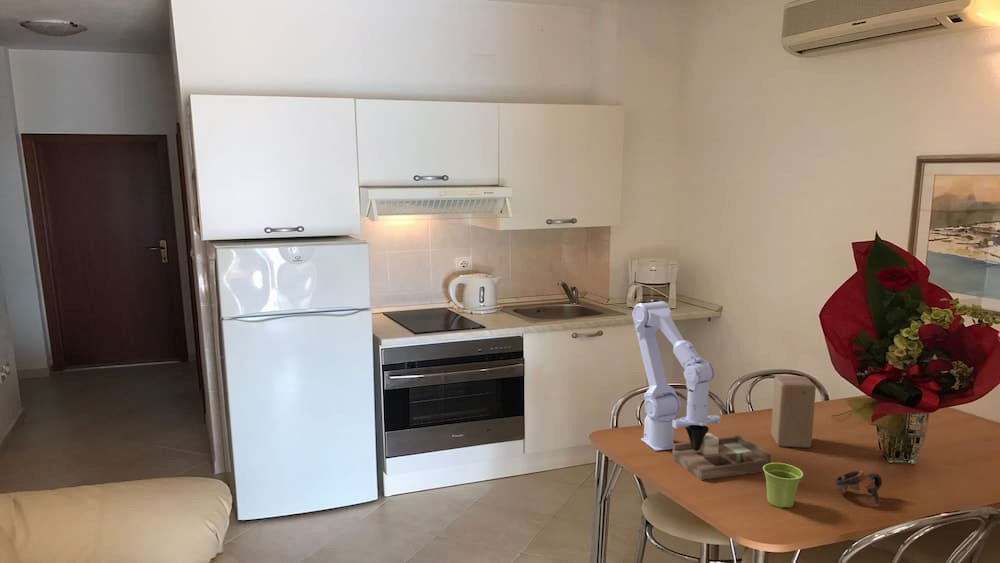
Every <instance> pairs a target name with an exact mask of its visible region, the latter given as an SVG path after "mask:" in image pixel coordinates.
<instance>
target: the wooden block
mask: <svg viewBox="0 0 1000 563" xmlns="http://www.w3.org/2000/svg"><path fill="white" fill-rule="evenodd" d="M773 382H774V383H773V397H772V410H771V411H772V412H771V428H770V434H771V437H772V438H773V440H774V441H775V444H776V445H777V446H778V447H786V448H787V447H789V448H791V447H792V448H803V449H804V448H805V449H808V448H811V446H812V441H813V439H812V438H813V428H814V418H815V415H814V414H815V413H814V412H815V401H816V391H817V390H816V385H815V384H814V383H813V382H812V381H811V380H810V379H809V378H808V377H807V376H803V375H799V376H798V375H776V376H775V377H774V380H773Z"/></svg>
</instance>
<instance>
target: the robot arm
mask: <svg viewBox="0 0 1000 563" xmlns="http://www.w3.org/2000/svg"><path fill="white" fill-rule="evenodd" d="M631 316H632V320H633V323H634V324H633V325H634V329H635V332H636V336H637V341H638V345H639V348H640V353H641V357H642V361H643V365H644V370H645V374H646V378H647V382H648V389H647V390H646V392H645V393H644V394H643V398H644V405H643V406H644V411H645V414H646V416H645V418H644V424H643V437H642V438H640V440H641V441H642V442H643V443H645V444H646V445H647V446H649V447H650V448H651V449H653V450H654V451H656V452H657V451H659V452H660V451H665V450H666V451H667V450H673V444H676V443H675V442H674V433H675V429H676V430H678V429H680V428H685V430H686V433H687V435H688V438H689V442H691V448H692V449H693V450H695V451H699V449H700V446H701V443H702V440H703V438H704V436H705V435H706V433H709V430H710V429H709V426H708V425H714V424H717V425H720V424H721V422H722V420H721V419H722V417H721V416H719V415H717V414H716V415H714V414H713V415H708V414H709V413H708V411H709V394H710V393H709V390H710V382H711V381H712V380H713V379H714V376H715V369H714V367H713V365H712V363H711V362H710V361H708V360H705V358H702V357H701V355H700V354H699V353H698V352H697V350H696V348H695V346H694V344H692V342H691V341H689V340H685V339H684V337H683V336H682V334H681V333H680V331H679V329H678V328H677V326H676V323H674V320H673V318H672V309H670V307H669V305H668V303H667V302H666V301H664V300H663V301H662V300H660V301H655V302H645V303H641V302H639V303H637V304H635V306H634V307H633V311H632V313H631ZM658 330H660V331H661V332H662V334H663V335H664V336H665V337H666V338H667V340H668V341H669V342H670V344H671V345H672V346H673V349H672V353H673V355H674V356H675V358H676V359H677V361H678V362H679V363H680V365H681V367H682V368H683V369H684V370H683V376H684V377H683V378H684V380H685V382H686V384H685V386H686V389H687V396H686V397H687V398H686V416H683V417H680V418H677V415H678V414H679V412H680V411H681V407H682V406H681V401H680V399H679V397H678V396H677V393H676V392H677V391H676V390H675V388H674V387H673V386H671V385H669V384H668V381H667V377H666V374H665V370H664V365H663V361H662V356H661V352H660V350H659V345H658V341H657V337H656V333H657V331H658ZM676 418H677V419H676Z"/></svg>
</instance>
